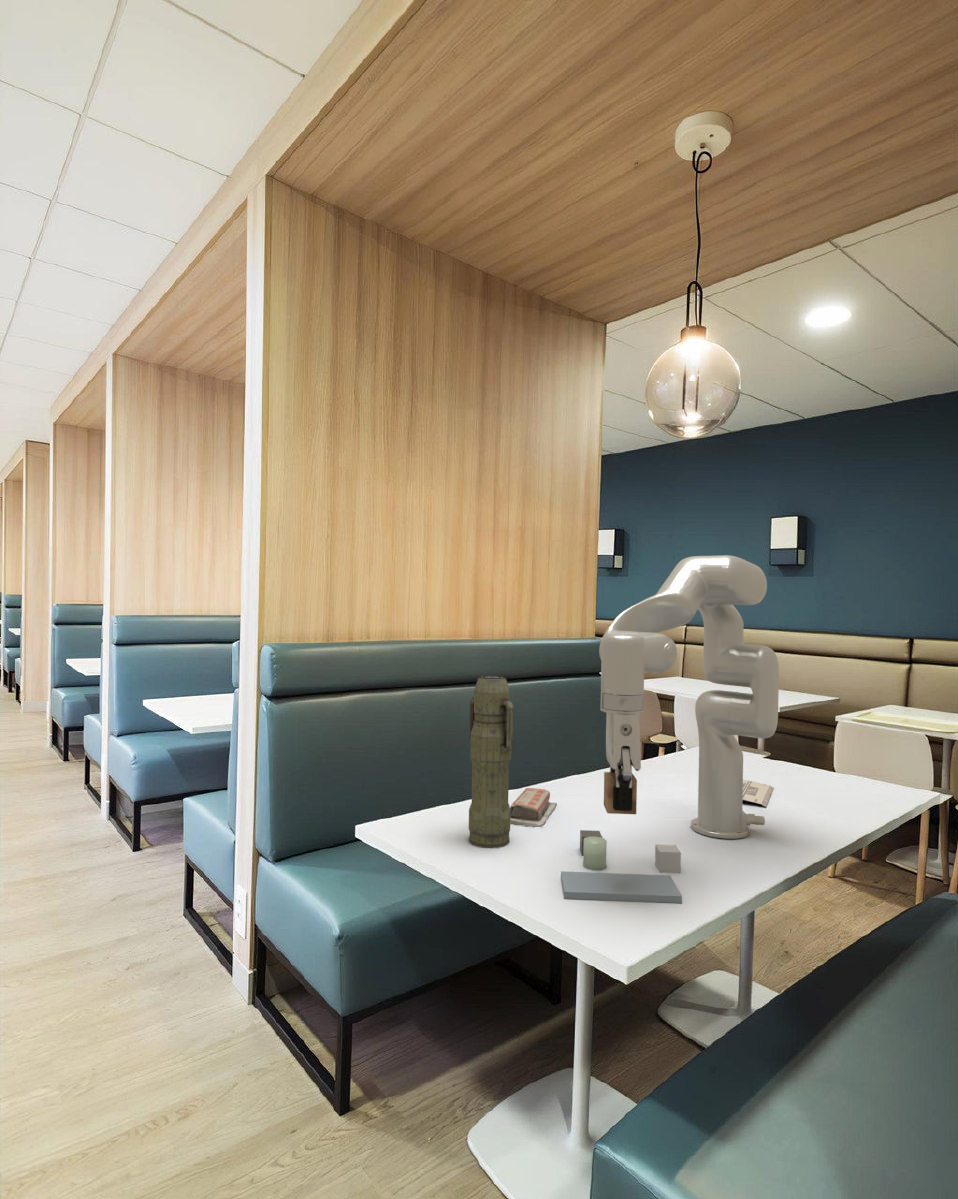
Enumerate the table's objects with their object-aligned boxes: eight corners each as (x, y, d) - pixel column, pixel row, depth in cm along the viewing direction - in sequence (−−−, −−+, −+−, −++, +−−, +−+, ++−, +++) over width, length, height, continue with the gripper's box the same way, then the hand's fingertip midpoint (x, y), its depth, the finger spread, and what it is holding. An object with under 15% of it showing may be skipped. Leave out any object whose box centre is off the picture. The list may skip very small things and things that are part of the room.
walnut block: (631, 806, 125) (632, 773, 125) (636, 814, 120) (636, 779, 120) (603, 805, 125) (604, 772, 125) (607, 813, 120) (608, 779, 120)
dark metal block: (599, 850, 143) (599, 830, 143) (601, 857, 139) (602, 837, 139) (579, 849, 143) (580, 830, 143) (581, 856, 139) (582, 836, 139)
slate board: (669, 882, 127) (670, 875, 127) (681, 903, 118) (682, 896, 118) (560, 877, 128) (560, 871, 128) (564, 898, 119) (564, 891, 119)
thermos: (480, 829, 154) (483, 673, 154) (523, 841, 146) (526, 677, 147) (454, 839, 147) (457, 676, 147) (498, 853, 140) (501, 680, 140)
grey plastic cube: (675, 865, 135) (675, 845, 135) (680, 873, 131) (680, 852, 131) (654, 864, 135) (655, 844, 135) (659, 872, 131) (659, 851, 131)
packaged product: (518, 784, 176) (557, 788, 173) (518, 803, 176) (556, 808, 173) (500, 804, 158) (542, 809, 155) (499, 825, 158) (542, 830, 155)
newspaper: (727, 784, 199) (728, 775, 199) (772, 795, 193) (774, 786, 193) (714, 803, 179) (715, 793, 179) (764, 815, 173) (766, 806, 173)
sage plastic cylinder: (604, 862, 136) (605, 836, 136) (607, 871, 131) (608, 844, 131) (582, 861, 136) (582, 836, 136) (584, 870, 132) (584, 844, 132)
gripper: (652, 711, 114) (650, 821, 114) (634, 697, 131) (632, 793, 131) (607, 709, 114) (605, 819, 114) (595, 696, 131) (593, 791, 131)
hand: (619, 804), depth 123 cm, fingers closed on walnut block, 5 cm apart
